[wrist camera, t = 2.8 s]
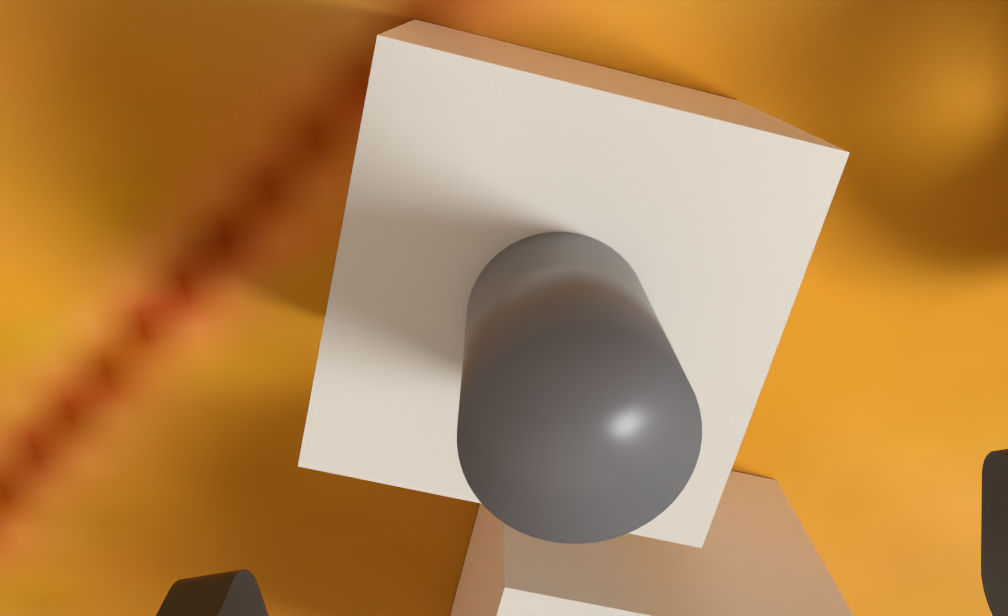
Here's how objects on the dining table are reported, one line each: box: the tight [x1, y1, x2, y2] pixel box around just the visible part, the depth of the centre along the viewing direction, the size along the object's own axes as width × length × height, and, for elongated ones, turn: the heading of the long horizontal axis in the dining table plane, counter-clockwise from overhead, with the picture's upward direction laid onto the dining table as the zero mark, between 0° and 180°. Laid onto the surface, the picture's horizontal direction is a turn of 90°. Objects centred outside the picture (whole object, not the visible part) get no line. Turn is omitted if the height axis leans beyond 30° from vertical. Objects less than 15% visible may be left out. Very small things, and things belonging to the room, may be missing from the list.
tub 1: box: [298, 19, 850, 548], centre depth 19 cm, size 9×9×13 cm
